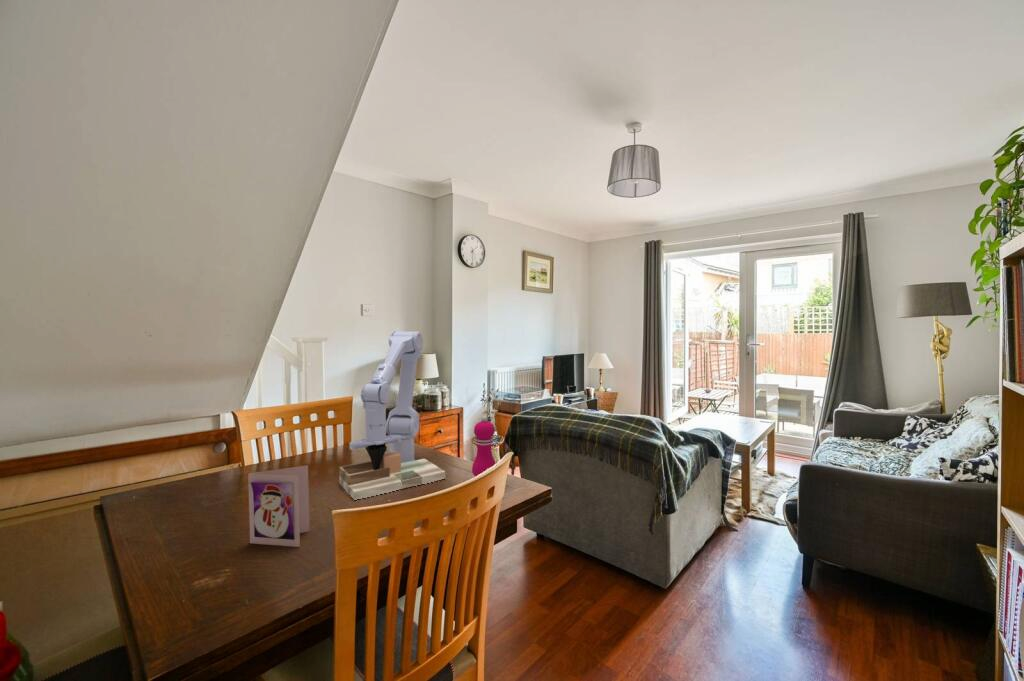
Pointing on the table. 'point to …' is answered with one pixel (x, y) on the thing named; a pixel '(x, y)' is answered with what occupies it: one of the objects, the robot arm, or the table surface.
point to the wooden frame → (364, 476)
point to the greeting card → (279, 506)
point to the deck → (396, 479)
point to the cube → (391, 461)
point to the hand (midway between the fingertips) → (376, 470)
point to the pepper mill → (483, 446)
